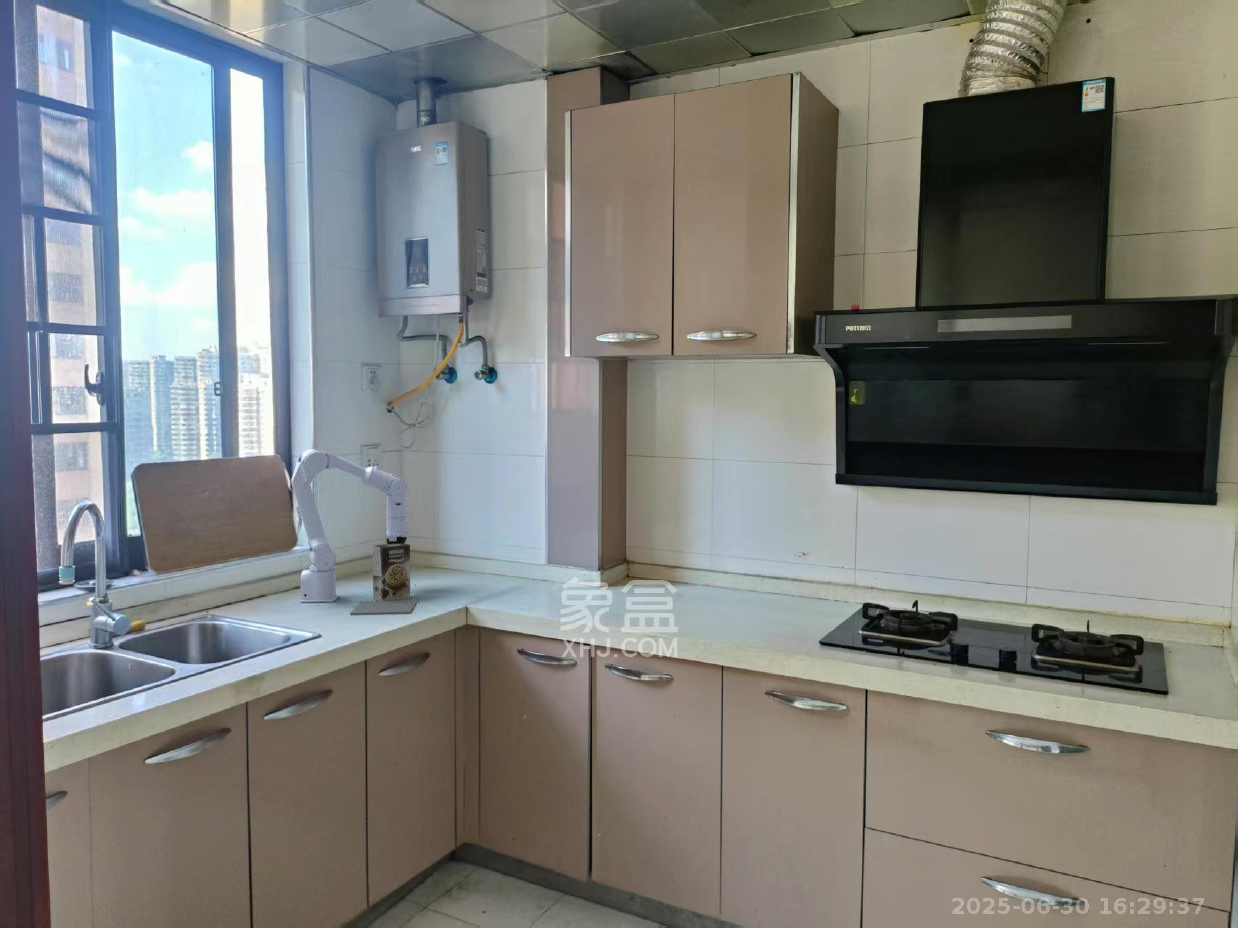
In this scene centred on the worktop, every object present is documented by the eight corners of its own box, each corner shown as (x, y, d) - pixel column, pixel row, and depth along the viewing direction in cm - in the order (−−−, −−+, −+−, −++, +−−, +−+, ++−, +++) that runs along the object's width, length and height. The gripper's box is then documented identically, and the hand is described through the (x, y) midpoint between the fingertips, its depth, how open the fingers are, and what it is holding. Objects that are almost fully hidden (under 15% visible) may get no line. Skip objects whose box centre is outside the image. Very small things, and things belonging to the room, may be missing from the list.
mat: (350, 614, 232) (350, 613, 232) (360, 603, 246) (360, 601, 246) (410, 613, 233) (410, 611, 233) (417, 602, 247) (417, 600, 247)
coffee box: (382, 603, 246) (381, 547, 245) (372, 599, 251) (371, 544, 250) (411, 598, 252) (410, 544, 251) (401, 594, 257) (400, 541, 256)
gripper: (406, 520, 253) (406, 565, 254) (413, 514, 267) (413, 557, 268) (381, 520, 252) (382, 565, 253) (390, 514, 266) (390, 557, 267)
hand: (396, 561), depth 260 cm, fingers closed
